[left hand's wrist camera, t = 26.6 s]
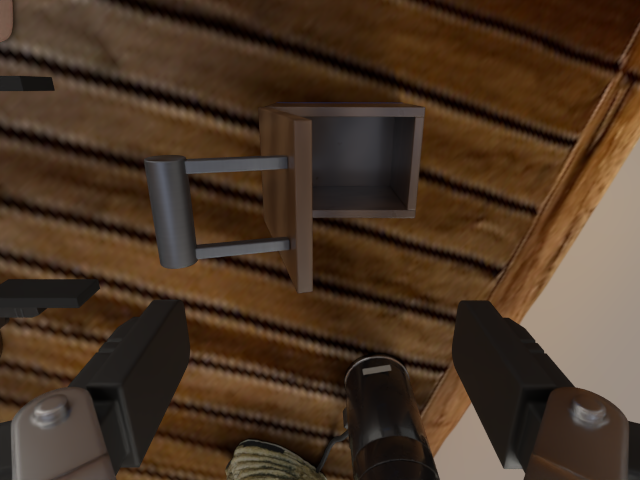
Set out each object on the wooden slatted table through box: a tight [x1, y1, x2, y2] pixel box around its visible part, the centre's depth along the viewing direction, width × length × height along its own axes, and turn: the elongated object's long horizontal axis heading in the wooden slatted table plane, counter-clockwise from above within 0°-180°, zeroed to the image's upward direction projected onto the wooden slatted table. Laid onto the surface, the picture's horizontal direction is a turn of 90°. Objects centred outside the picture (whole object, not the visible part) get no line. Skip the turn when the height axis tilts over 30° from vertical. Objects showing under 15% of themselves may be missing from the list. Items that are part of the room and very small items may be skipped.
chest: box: [266, 102, 425, 218], centre depth 41 cm, size 14×10×11 cm
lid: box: [144, 107, 313, 293], centre depth 28 cm, size 15×10×9 cm
